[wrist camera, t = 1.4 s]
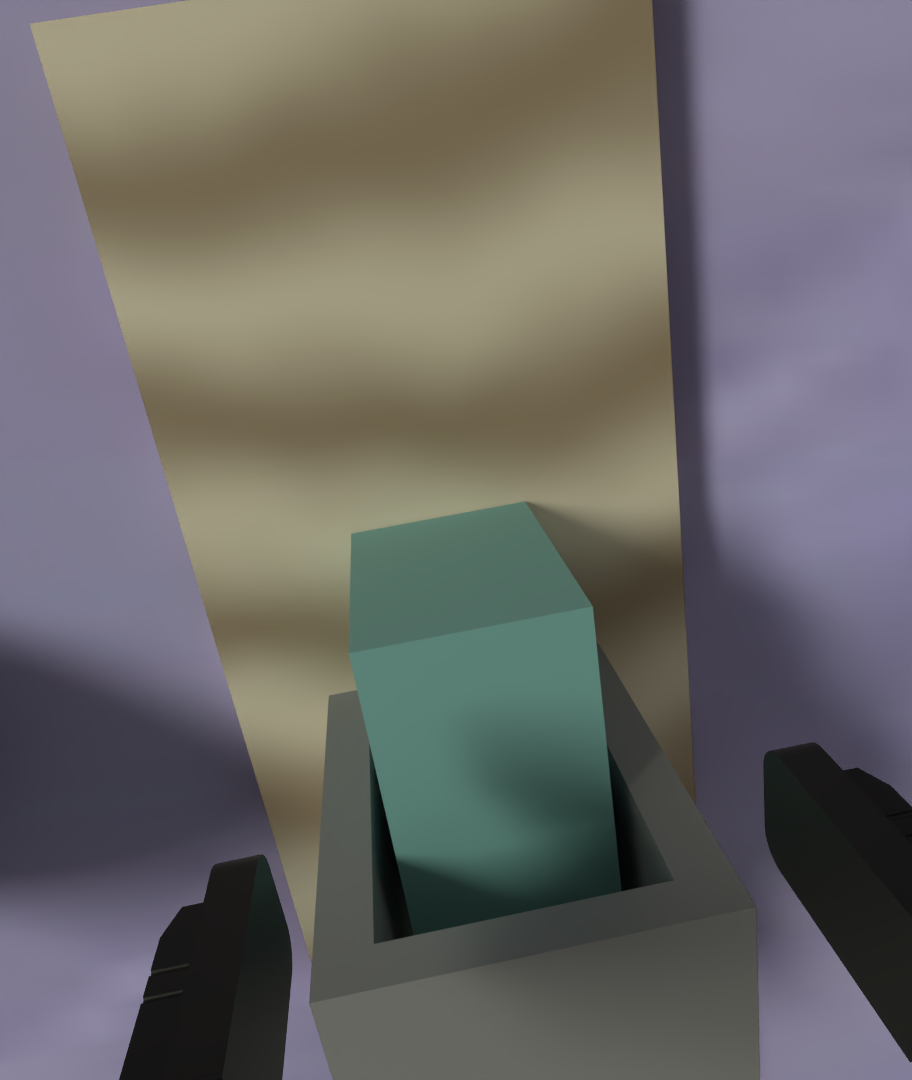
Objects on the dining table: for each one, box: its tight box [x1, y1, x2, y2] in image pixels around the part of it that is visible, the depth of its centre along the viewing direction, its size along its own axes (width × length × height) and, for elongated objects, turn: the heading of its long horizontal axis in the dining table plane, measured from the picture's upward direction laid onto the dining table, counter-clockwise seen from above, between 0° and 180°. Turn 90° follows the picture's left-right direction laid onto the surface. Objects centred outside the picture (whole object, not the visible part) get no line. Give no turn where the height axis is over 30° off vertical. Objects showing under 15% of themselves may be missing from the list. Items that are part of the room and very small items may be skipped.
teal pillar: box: [349, 502, 621, 935], centre depth 23 cm, size 18×5×7 cm, turn 9°
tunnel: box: [309, 643, 760, 1080], centre depth 21 cm, size 8×8×10 cm
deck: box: [30, 0, 696, 963], centre depth 25 cm, size 40×14×2 cm, turn 9°
